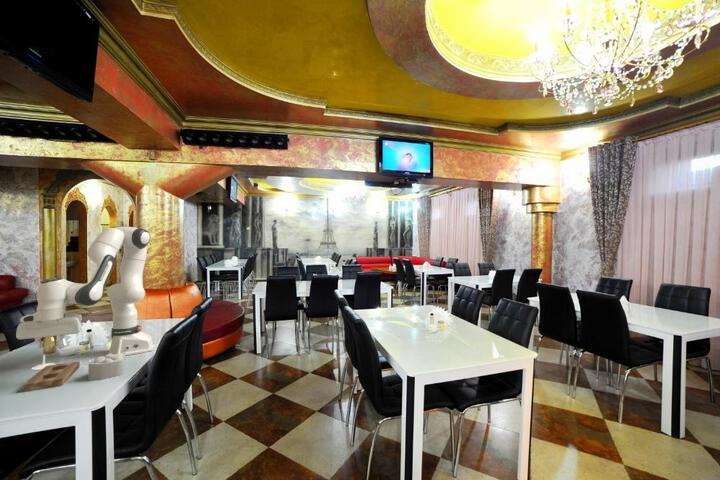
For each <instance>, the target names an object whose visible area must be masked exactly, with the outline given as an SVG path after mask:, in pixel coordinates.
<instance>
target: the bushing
mask: <svg viewBox="0 0 720 480" xmlns="http://www.w3.org/2000/svg"><path fill="white" fill-rule="evenodd" d="M57 339H58V336H46V337H44V346H43V347H42V356H43V355H45V356H48V355H53V354H56V353H57V346H55V342H57V341H58V340H57Z"/></svg>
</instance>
